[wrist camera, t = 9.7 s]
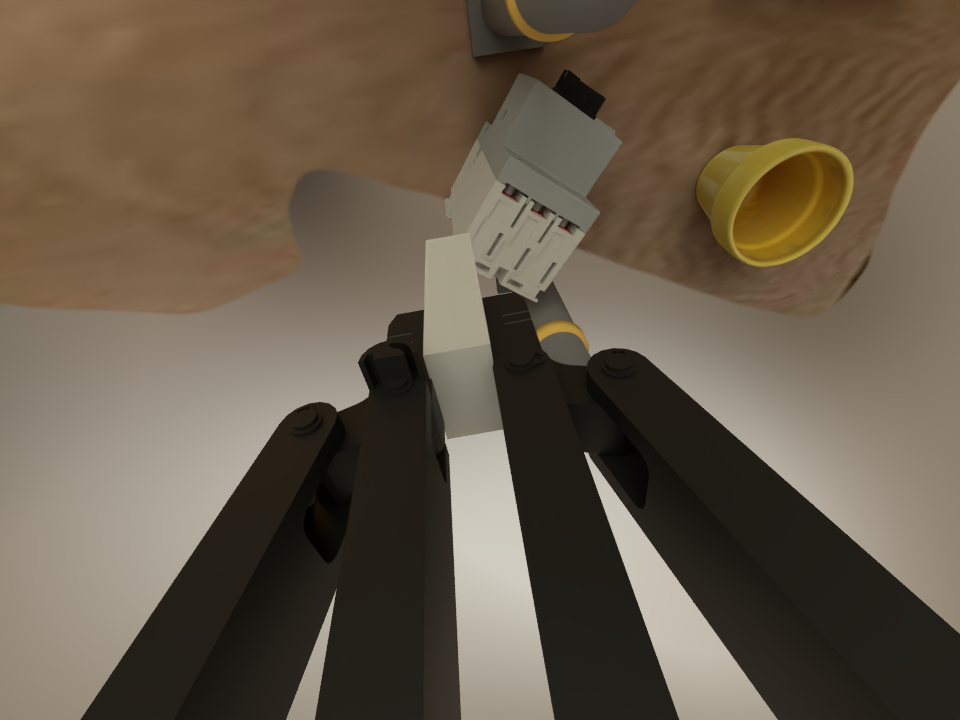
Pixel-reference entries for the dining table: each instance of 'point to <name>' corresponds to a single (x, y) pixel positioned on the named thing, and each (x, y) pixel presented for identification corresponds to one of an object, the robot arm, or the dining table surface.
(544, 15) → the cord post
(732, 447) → the robot arm
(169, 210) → the dining table surface
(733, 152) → the plant pot
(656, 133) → the dining table surface
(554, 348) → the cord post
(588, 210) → the circuit breaker
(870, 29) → the dining table surface
